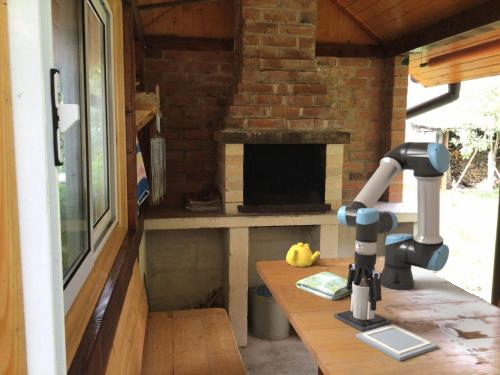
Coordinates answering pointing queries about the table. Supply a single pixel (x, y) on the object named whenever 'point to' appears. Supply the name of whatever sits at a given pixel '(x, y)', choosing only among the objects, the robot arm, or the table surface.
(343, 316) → the ink pad
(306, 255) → the teapot
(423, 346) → the board
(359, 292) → the cup
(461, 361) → the table surface
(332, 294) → the towel
